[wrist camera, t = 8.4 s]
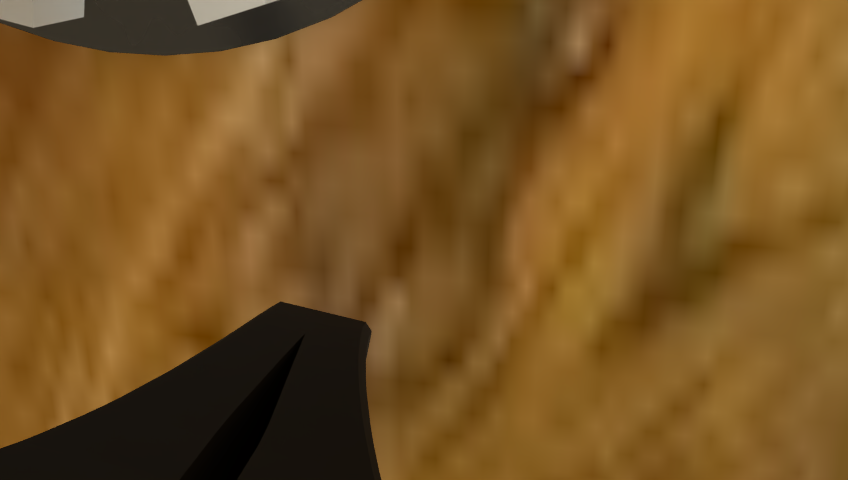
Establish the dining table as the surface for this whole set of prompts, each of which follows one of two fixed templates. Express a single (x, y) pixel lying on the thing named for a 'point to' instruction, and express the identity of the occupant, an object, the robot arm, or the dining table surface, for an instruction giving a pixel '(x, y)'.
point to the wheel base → (181, 25)
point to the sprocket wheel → (51, 3)
